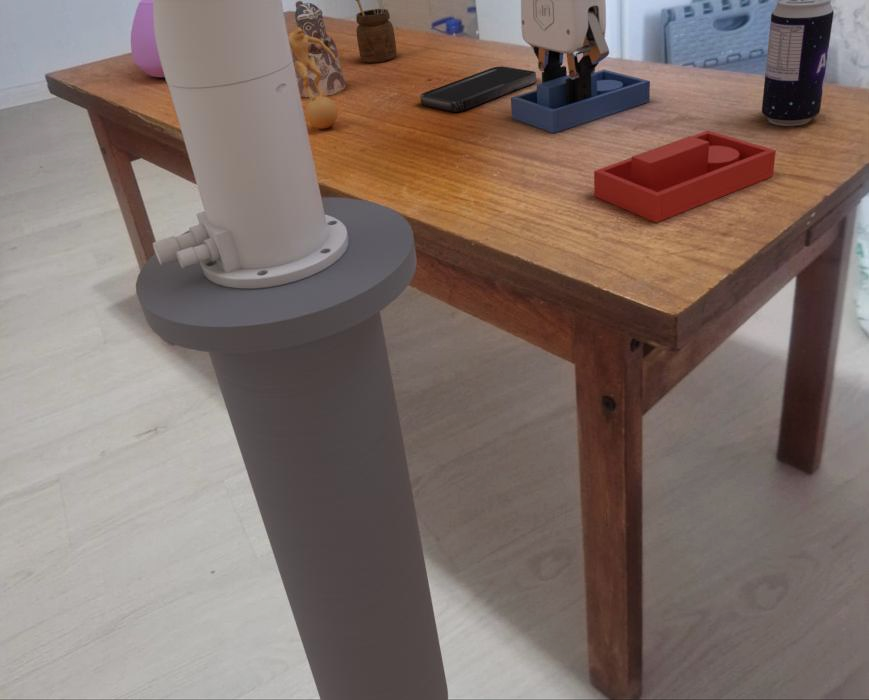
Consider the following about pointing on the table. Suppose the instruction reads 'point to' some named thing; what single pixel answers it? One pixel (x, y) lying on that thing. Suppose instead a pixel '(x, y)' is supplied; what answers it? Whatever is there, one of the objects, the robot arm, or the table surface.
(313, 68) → the figurine
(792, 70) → the beverage can
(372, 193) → the table surface
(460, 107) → the phone
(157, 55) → the teapot
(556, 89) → the blue block with disc
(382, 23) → the utensil holder
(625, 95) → the blue tray
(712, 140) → the red tray
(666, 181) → the red block with disc
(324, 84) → the figurine
